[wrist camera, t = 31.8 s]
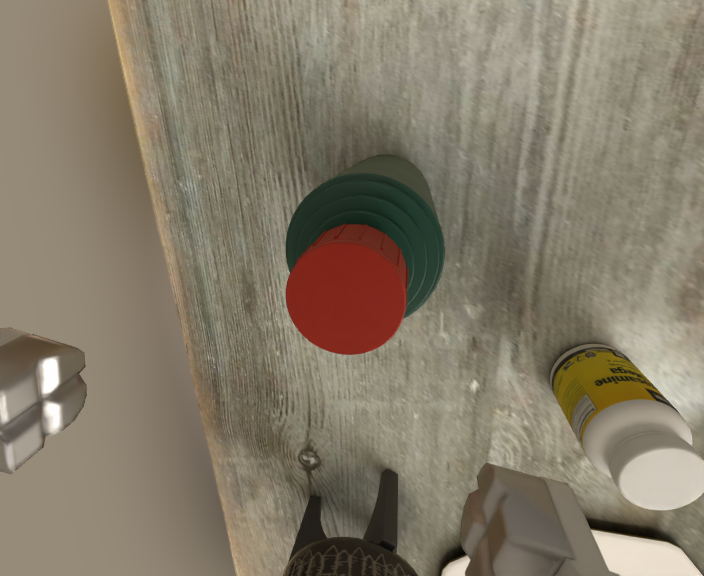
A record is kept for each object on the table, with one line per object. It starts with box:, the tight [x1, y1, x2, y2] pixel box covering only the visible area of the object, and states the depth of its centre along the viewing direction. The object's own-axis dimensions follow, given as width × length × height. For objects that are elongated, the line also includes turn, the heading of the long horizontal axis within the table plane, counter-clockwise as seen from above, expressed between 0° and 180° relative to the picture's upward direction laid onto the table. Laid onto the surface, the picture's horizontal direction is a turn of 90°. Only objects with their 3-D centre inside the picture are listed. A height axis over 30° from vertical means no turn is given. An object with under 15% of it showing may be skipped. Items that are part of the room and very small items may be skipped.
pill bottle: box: [550, 344, 704, 510], centre depth 28 cm, size 6×6×11 cm
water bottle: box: [286, 155, 445, 319], centre depth 22 cm, size 7×7×18 cm
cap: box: [286, 224, 408, 355], centre depth 14 cm, size 4×4×3 cm
